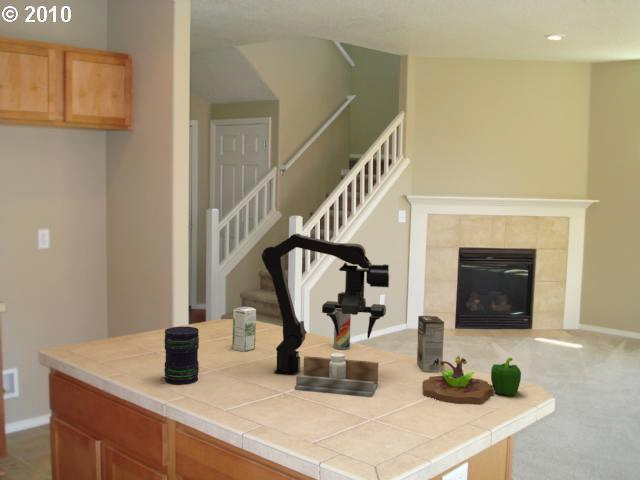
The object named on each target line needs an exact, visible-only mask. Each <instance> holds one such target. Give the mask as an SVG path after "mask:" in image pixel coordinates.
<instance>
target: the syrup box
mask: <svg viewBox="0 0 640 480" xmlns="http://www.w3.org/2000/svg"><path fill="white" fill-rule="evenodd" d="M256 323H257V309H256V308H254V307H252V306H251V307H250V306H243V307H242V306H241V307H237V308H233V314H232V350H233V351H237V352H238V351H239V352H243V353H245V352H249V351H252V350H255V349H256V329H257V328H256V326H257V325H256Z"/></svg>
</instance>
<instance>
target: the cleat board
mask: <svg viewBox="0 0 640 480" xmlns="http://www.w3.org/2000/svg"><path fill="white" fill-rule="evenodd" d="M330 361H331V357H320V356H307V355H304V356H303V375H302V374H301V375H300V374H296V377H295V378H296V379H295V380H296V383H295V385H294V391H300V392H301V391H302V392H310V393H311V392H314V393H323V394H335V395H345V396H355V397H366V398H373V396H374V394H375V392H376V390H377V388H378V386H379V361H371V360H370V361H368V360H357V359H356V360H355V359H346V358H345V360H344V361H345V362H346V379H337V378H329V363H330Z"/></svg>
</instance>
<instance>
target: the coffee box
mask: <svg viewBox="0 0 640 480" xmlns="http://www.w3.org/2000/svg"><path fill="white" fill-rule="evenodd" d="M444 335H445V321H444V320H442V319H441V318H439V317H438V316H437V315H418V321H417V349H416V350H417V351H416V354H417V355H416V356H417V357H416V364H417V366H418V367H419V369H421V371H422V372H423V373H427V372H428V373H431V372H433V373H437V372H438V373H440V372H443V366H442V367H441V366H440V365H439V363H440V362H441V361H443V357H444V356H443V355H444Z"/></svg>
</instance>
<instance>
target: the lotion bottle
mask: <svg viewBox="0 0 640 480" xmlns="http://www.w3.org/2000/svg"><path fill="white" fill-rule="evenodd" d="M344 295H345V291H343V292H342V291H341V292H339V293H337V302H338V304H339V305H342V301H343V298H344ZM351 316H352V314H343V313H342V311H339V318H340V335H339V336H337V333H336V329H335V326H334V327H333V348H334V349H335V350H349V349H350V347H351V318H352V317H351Z"/></svg>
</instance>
